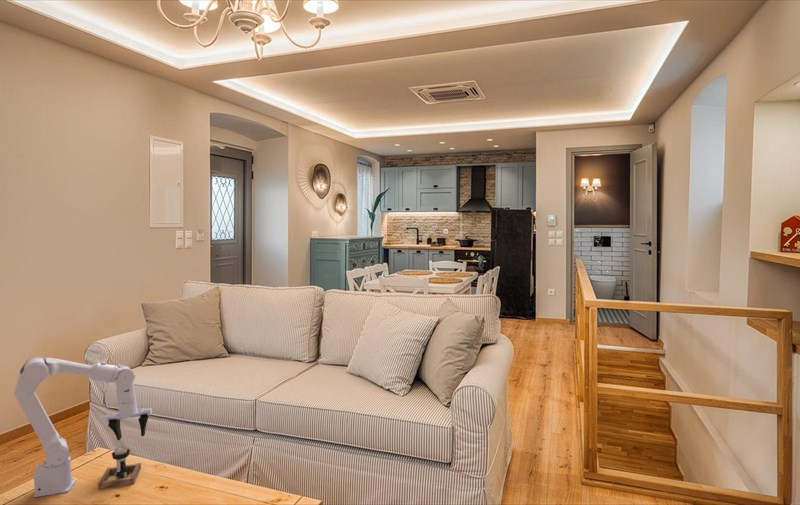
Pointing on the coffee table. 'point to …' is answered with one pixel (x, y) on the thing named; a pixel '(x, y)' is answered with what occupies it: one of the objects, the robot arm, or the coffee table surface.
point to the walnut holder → (119, 482)
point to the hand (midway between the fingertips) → (131, 437)
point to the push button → (121, 462)
